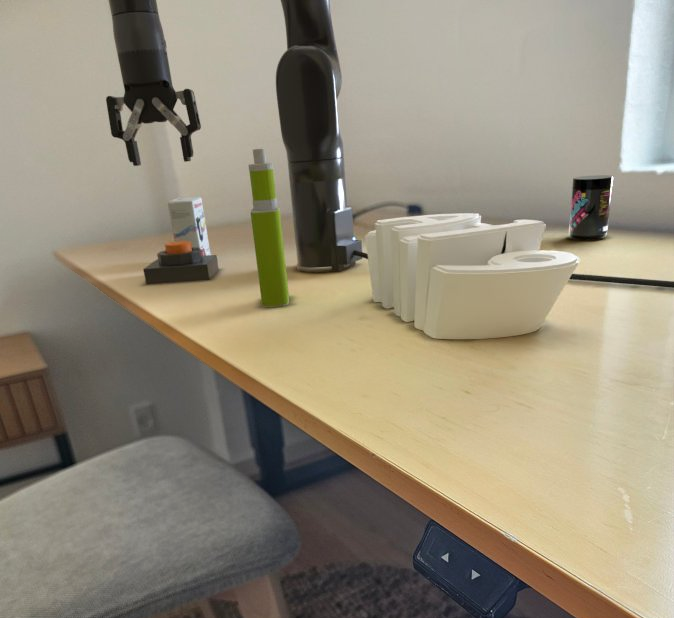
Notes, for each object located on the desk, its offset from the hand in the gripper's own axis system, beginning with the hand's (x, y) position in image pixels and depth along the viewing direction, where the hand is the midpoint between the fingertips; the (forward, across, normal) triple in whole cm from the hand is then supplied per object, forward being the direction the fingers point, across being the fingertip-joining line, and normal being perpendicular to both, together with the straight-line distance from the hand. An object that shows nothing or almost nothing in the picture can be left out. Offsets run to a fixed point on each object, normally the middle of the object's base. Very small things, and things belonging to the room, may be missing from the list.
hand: (162, 163), depth 109 cm
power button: (+14, 0, -1) cm, 14 cm away
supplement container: (+19, +74, +9) cm, 77 cm away
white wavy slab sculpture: (+19, +44, -35) cm, 59 cm away
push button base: (+18, 0, -1) cm, 19 cm away
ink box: (+19, -1, +13) cm, 23 cm away
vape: (+19, +20, -25) cm, 37 cm away
